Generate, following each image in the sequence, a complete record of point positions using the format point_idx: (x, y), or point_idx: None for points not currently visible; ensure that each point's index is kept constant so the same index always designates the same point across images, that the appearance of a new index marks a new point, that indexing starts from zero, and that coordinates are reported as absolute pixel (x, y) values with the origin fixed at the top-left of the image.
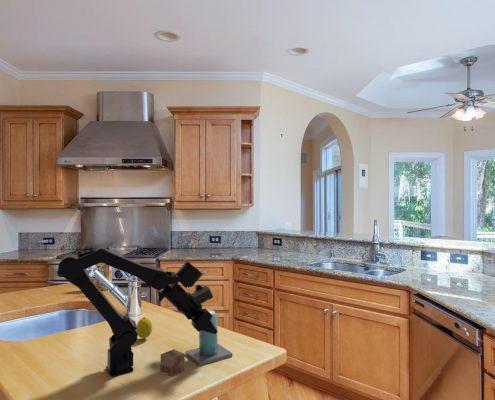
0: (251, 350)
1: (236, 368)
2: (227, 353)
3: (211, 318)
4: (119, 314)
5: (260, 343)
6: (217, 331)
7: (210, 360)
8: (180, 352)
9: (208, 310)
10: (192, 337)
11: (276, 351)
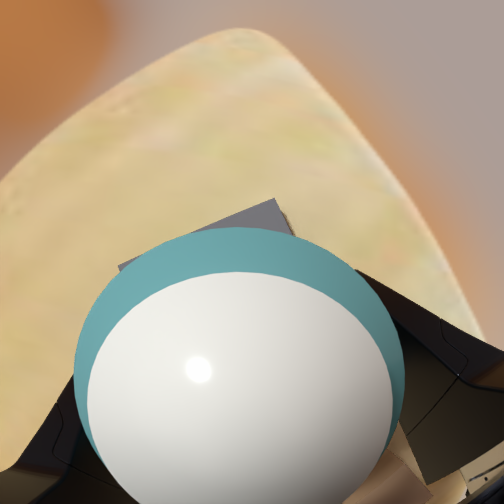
0: (218, 109)
1: (390, 209)
2: (273, 224)
3: (395, 348)
4: None
5: (155, 70)
6: (358, 271)
7: None
8: (386, 484)
9: (104, 406)
10: (16, 374)
11: (249, 39)
